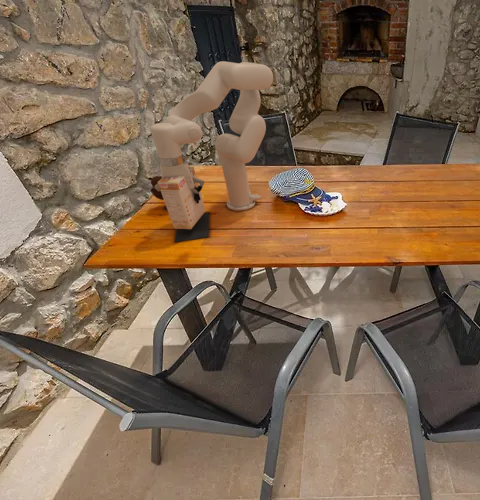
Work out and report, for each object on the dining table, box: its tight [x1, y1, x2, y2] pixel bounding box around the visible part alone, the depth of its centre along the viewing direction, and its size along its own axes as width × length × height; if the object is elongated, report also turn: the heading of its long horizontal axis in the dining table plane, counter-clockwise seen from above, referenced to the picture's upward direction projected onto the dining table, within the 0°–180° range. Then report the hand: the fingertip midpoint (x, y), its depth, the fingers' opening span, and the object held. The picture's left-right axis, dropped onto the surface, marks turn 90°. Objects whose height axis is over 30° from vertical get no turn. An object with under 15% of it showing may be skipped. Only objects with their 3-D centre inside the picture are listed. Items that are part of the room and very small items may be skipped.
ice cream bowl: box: [149, 175, 168, 211], centre depth 138 cm, size 11×11×15 cm
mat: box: [174, 211, 210, 243], centre depth 130 cm, size 12×20×1 cm, turn 19°
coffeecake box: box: [157, 166, 207, 230], centre depth 122 cm, size 15×7×20 cm, turn 179°
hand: (185, 203), depth 124 cm, fingers closed on coffeecake box, 8 cm apart
